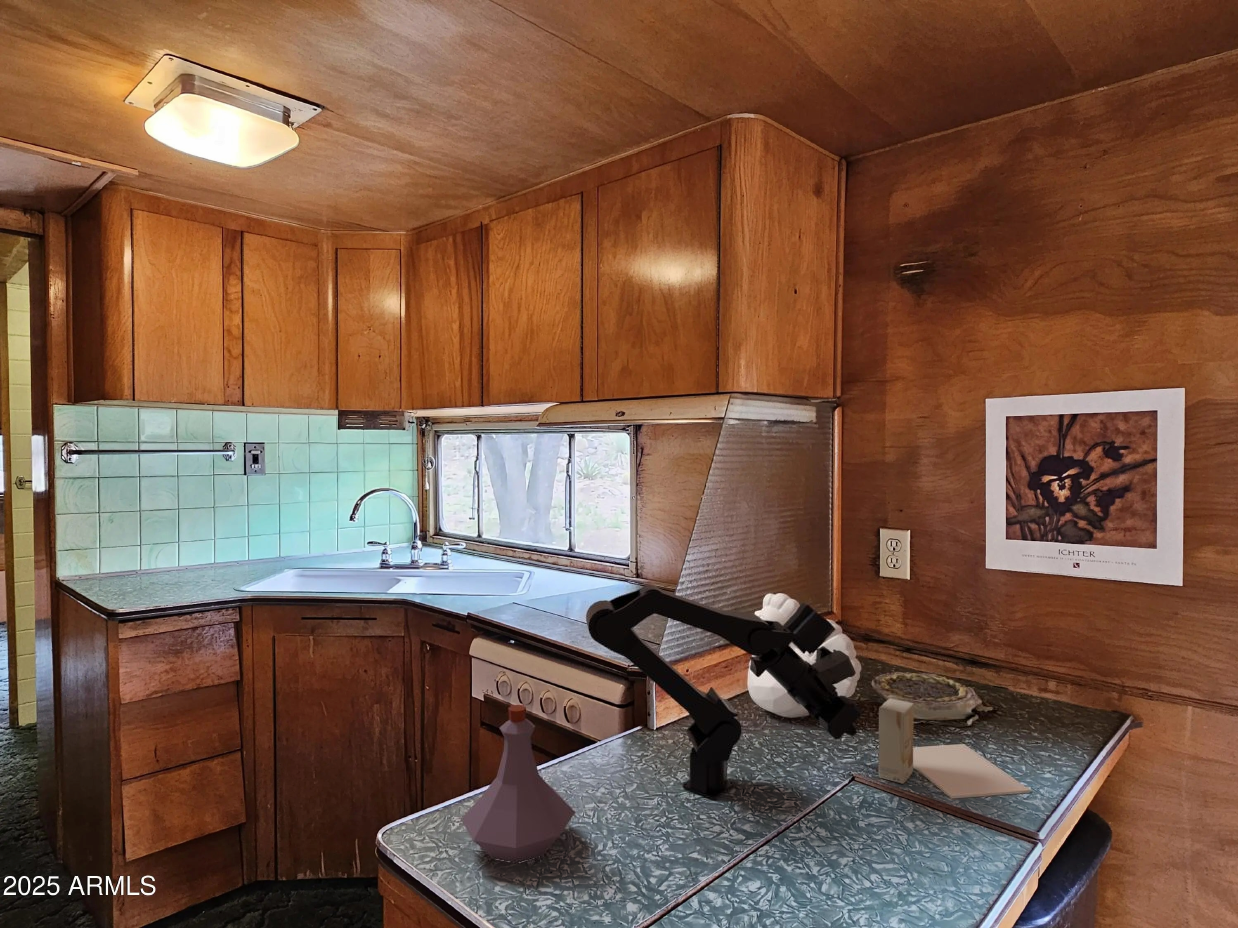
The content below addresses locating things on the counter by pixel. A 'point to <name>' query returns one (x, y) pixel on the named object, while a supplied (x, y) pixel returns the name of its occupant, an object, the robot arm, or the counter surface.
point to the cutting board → (963, 772)
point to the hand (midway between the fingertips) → (854, 732)
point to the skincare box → (896, 740)
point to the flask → (517, 801)
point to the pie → (930, 695)
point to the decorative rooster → (769, 689)
